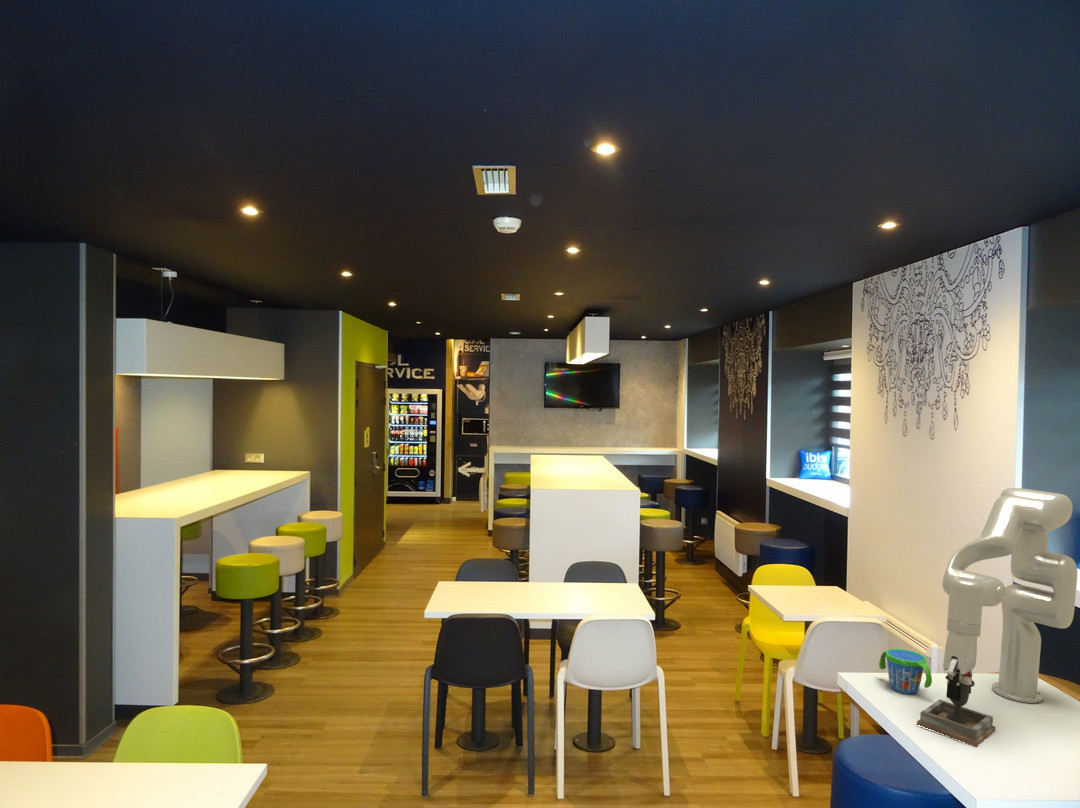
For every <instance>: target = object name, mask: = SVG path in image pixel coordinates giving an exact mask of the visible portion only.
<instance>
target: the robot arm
mask: <svg viewBox="0 0 1080 808" xmlns="http://www.w3.org/2000/svg"><path fill="white" fill-rule="evenodd" d="M1072 515H1073V503H1072V500H1071V499H1070V498H1069V496H1067V495H1066V494H1062V493H1056V492H1050V491H1042V490H1035V489H1030V488H1029V489H1028V488H1020V487H1018V488H1017V487H1009V488H1006V489H1003V490H1002V492H1001V494H1000V496H999V497H998V498H996V500H995V501H994V503H993V506H992V508H991V510H990V513H989V515H988V518H987V520H986V522H985V525H984V527H983V528H982V529H983V530H982V531H981V534H980V536H979V537H978V538H977V539H974V540H971V541H969V542H968V543H966V544H965V545H963V546H962V547H960V548H959V549H958V550H957V551H955V552H954V553H953V555H952V556H951V557H950V560H949V561H948V562H949V563H947V567H946V569H945V570H944V575H943V578H942V583H941V584H942V589H943V591H944V592H945V594H947V595H948V605H947V607H948V609H947V622H946V630H947V632H948V633H947V636H946V641H945V647H944V656H943V663H942V668H943V670H944V671H946V676H947V678H948V679H946V682H947V683H946V684H947V685H946V694H945V695H946V698H947V699H949V700H950V699H953V700H956V701H960V700H961V690H962V686H961V685H960V683H961V679H962V675H964V674H966V673H967V672H968V673H969V675H968V676H969V677H970V678H971V680H972V681H973V679H972V678H973V669H974V668H975V667H976V663H977V656H978V655H977V653H978V652H977V651H978V638H979V637H981V632H982V631H981V629H982V614H983V607H994V606H996V607H997V606H998V605H1000V604H1001V611H1002V612H1001V613H1002V631H1001V632H1002V633H1001V645H1000V656H999V657H1000V659H999V660H1000V661H999V669H998V670H999V671H998V672H999V673H998V681H996V682H994V683H992V684H991V690H992V691H993V692H994V693H996V694H997V695H999V696H1001V697H1004V698H1006V699H1009V700H1013V701H1015V702H1020V703H1027V704H1038V703H1037V702H1039V703H1041V701H1042V700H1043V701H1044V695H1043V693H1041V692H1040V691H1039V690H1038V688H1039V687H1038V686H1039V675H1040V674H1039V673H1040V672H1039V671H1040V663H1041V662H1040V660H1041V659H1040V657H1041V648H1042V636H1041V633H1040V630H1039V628H1038V627H1037V626H1036V624H1041V625H1044V626H1048V627H1051V628H1057V629H1067V628H1069V627H1070V626H1071V624H1072V622H1073V620H1074V615H1075V607H1076V595H1077V586H1078V568H1077V563H1076V562H1075V560H1074V559H1073V558H1072V557H1070V556H1069V555H1066V554H1062V553H1061V554H1060V553H1055V552H1052V551H1051V552H1050V551H1049V550H1048V547H1049V546H1048V545H1049V532H1051V531H1052V532H1053V531H1054V530H1056V529H1058V528H1060V527H1062V526H1064V525H1065V524H1067V523H1068V521H1069V520H1070V519H1071V517H1072ZM1010 555H1011V558H1010V571H1011V575H1012V576H1013V577H1014V578H1015V579H1018V580H1020V581H1023V582H1028V583H1032V584H1035V585H1041V586H1045V587H1050V588H1052V591H1050V590H1045V589H1041V588H1038V587H1033V586H1029V585H1023V584H1017V583H1015V584H1009V585H1007V586H1005V584H1004V583H1003V581H1002V580H1001V579H999V578H997V577H993V576H990V575H985V574H981V573H978V572H973V571H968V570H966V569H967V568H969V566H971V565H972V564H975V563H977V562H982V561H986V560H991V559H997V558H1002V557H1007V556H1008V557H1009V556H1010ZM1035 623H1036V624H1035ZM955 670H959V671H960V672H955ZM954 675H958V679H957V677H956V676H954ZM970 694H972V688H971V689H970V693H969V695H970ZM1043 701H1042V702H1043Z"/></svg>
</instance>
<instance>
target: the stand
mask: <svg viewBox="0 0 1080 808" xmlns="http://www.w3.org/2000/svg"><path fill="white" fill-rule="evenodd" d="M954 712H955V705H954V704H953V703H952V702H949V701H946V700H942V699H938V700H936V701H935V702H934V703H932V704H931V705H929V706H928V707H926V708H925V709H923V710H922V711H920V718H919V720H917V721H916V726H917V725H920V726H923V727H925V728H928V729H931V730H934V731H936V732H939V733H942V734H944V735H947V736H949V737H951V738H950V739H952V738H954V739H953V740H955V739H957V740H960V741H962V742H961V743H963V742H965V743H964V744H966V743H968V744H967V745H969V744H970V745H969V746H971V745H973V746H972V747H974V746H976V747H975V748H978V747H979V746H980V745H981V744H983V742H985V741H986V740H987V739H989V737H991V736H992V735H993V734H994V733H995V732H996V727H997V726H994V725H993V724H994V723H993V722H994V716H991V715H988V714H986V713H982V712H980V711H977V710H973V709H970V708H967V707H963V706H961V707H960V714H961V716H962V717H964V718H966V719H967V720H968V722H967V723H957V722H954V721H951V720H949V719H948V718H947V717H946V715H947V714H953V713H954ZM994 731H995V732H994ZM993 732H994V733H993ZM992 733H993V734H992ZM991 734H992V735H991ZM949 737H948V738H949ZM985 739H986V740H985ZM957 740H956V741H957ZM984 740H985V741H984ZM960 741H959V742H960ZM979 744H980V745H979ZM978 745H979V746H978ZM977 746H978V747H977Z"/></svg>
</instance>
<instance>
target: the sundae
mask: <svg viewBox="0 0 1080 808" xmlns="http://www.w3.org/2000/svg"><path fill="white" fill-rule="evenodd" d="M955 672H960V671H959V670H955ZM968 675H969V673H968V672H967V673H966V674H964V675H962V679H961V683H960V685H961V686H962V690H961V700H960V701H956V700H953V699H949V700H950V701H951V703H952V704H954V705H955V712H954V713H953V714H947V715H946V717H947V718H948V719H949V720H951V721H954V722H957V723H967V722H968V720H967V719H966V718H964V717H962V716H961V714H960V707H963V706H965V705H966V704H968V701H969V697H970V694H971V693H970V689H971V690H972V687H975V683H976V682H975V680H973V679H972V678H970V677H969V676H968ZM947 676H948V675H945V679H946V680H947V679H948V678H947ZM954 676H956V677H957V679H958V675H954ZM971 679H972V680H971ZM969 693H970V694H969Z"/></svg>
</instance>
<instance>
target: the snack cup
mask: <svg viewBox="0 0 1080 808" xmlns="http://www.w3.org/2000/svg"><path fill="white" fill-rule="evenodd" d="M886 661H887V664H886ZM878 663H879V664H878V665H879V669H880V670H885V669H886V668H887V672H888V673H887V674H888V683H889V686H890V689H893V690H894V691H895V692H899V693H901V694H908V695H913V694H914V695H915V694H917V693H918V692H919V689H920V685H921V681H922V679H923V678H922V677H923V673H925V682H924V684H923V686H924V688H927V689H928V688H930V687H932V683H933V679H932V678H933V677H932V672H931V668H930V666H929V665H928V664H927V658H926V656H925V655H923V654H921V653H919V652H916V651H912V650H907V649H904V648H903V649H902V648H891V649H887V650H884V651H883V652H882V653H881V655H880V659H879V662H878ZM886 666H887V667H886Z"/></svg>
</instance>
